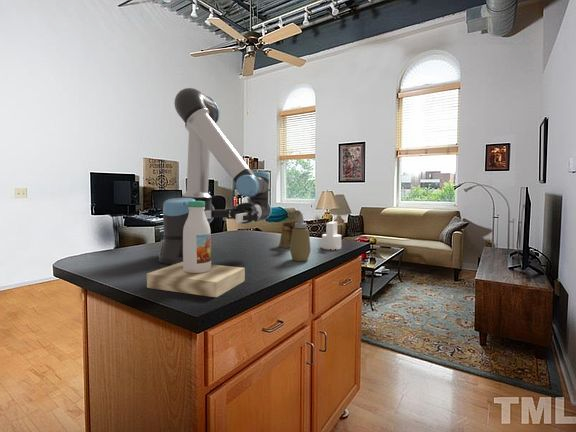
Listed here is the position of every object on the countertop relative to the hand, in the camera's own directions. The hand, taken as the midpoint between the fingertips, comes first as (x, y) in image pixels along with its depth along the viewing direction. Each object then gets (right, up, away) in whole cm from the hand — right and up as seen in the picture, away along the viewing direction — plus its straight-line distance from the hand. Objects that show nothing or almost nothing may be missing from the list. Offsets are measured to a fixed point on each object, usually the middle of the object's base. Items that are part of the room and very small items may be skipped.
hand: (217, 217), depth 104 cm
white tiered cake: (+43, -15, +53) cm, 70 cm away
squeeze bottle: (+27, -17, +26) cm, 41 cm away
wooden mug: (+23, -15, +52) cm, 59 cm away
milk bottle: (-4, -15, -8) cm, 18 cm away
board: (-4, -19, -8) cm, 21 cm away
